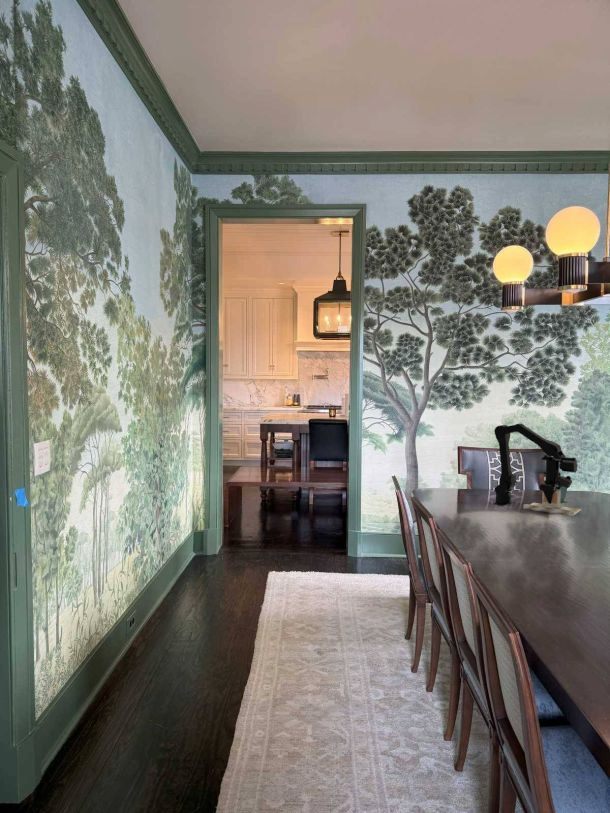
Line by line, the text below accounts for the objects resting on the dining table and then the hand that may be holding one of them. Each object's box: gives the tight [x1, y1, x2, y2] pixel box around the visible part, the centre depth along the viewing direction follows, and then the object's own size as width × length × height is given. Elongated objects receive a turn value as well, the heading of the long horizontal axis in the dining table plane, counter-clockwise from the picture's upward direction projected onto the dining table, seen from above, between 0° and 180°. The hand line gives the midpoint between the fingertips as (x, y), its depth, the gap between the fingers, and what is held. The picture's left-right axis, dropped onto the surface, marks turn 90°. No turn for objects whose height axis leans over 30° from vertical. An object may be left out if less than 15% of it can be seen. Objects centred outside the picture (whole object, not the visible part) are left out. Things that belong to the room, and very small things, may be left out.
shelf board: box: [523, 502, 582, 517], centre depth 260 cm, size 22×16×3 cm
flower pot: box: [558, 485, 568, 503], centre depth 278 cm, size 9×9×9 cm
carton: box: [541, 489, 561, 508], centre depth 258 cm, size 4×7×8 cm, turn 51°
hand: (551, 502), depth 258 cm, fingers closed on carton, 4 cm apart
